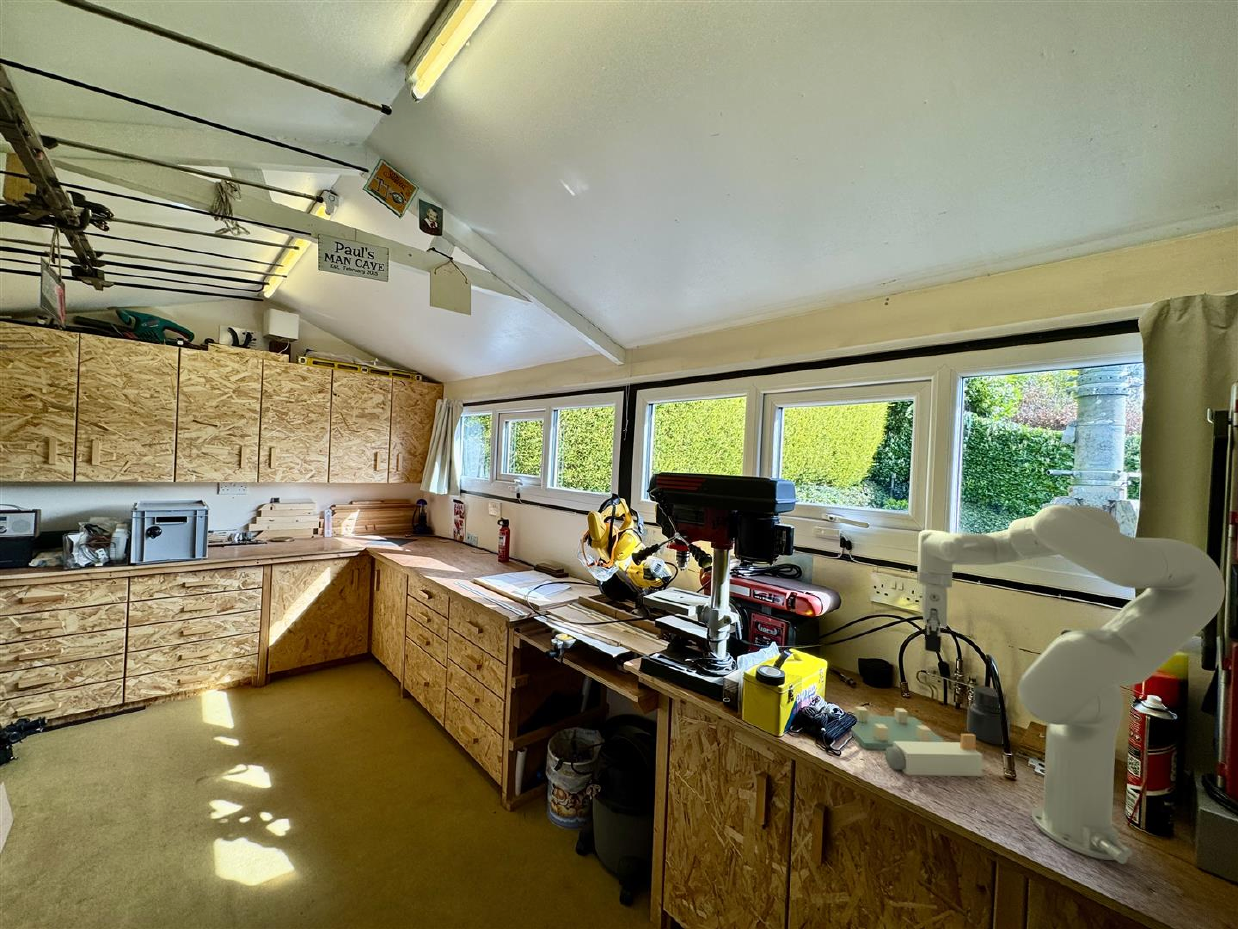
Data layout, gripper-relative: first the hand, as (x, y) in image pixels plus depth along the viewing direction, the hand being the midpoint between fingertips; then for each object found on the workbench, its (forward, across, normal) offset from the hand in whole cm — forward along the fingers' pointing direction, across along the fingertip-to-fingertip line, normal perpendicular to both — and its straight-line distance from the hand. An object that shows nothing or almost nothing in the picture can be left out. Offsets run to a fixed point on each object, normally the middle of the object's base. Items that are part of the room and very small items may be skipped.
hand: (932, 646), depth 123 cm
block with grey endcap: (+25, -12, -1) cm, 28 cm away
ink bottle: (+25, +14, -13) cm, 32 cm away
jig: (+24, -2, +8) cm, 26 cm away
